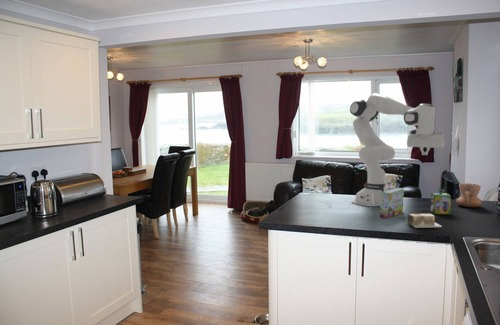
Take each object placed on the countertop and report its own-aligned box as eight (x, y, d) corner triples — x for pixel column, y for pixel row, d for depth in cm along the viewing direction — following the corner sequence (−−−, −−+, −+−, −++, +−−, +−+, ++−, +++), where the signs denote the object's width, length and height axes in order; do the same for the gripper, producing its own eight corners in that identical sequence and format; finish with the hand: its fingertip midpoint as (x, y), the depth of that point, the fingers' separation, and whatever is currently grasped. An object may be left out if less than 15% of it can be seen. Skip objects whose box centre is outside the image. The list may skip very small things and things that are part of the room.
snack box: (388, 219, 227) (389, 192, 225) (379, 217, 231) (380, 191, 229) (403, 212, 242) (404, 188, 241) (394, 211, 246) (395, 186, 245)
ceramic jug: (459, 202, 269) (460, 181, 267) (484, 205, 260) (485, 183, 258) (452, 207, 255) (453, 185, 254) (478, 210, 246) (479, 188, 244)
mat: (415, 227, 209) (415, 226, 209) (408, 223, 218) (408, 222, 218) (442, 227, 209) (442, 226, 209) (433, 222, 218) (433, 221, 218)
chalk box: (450, 214, 236) (451, 190, 234) (433, 214, 238) (435, 189, 236) (446, 211, 245) (447, 187, 243) (430, 210, 247) (431, 187, 245)
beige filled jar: (412, 216, 210) (434, 215, 210) (408, 213, 215) (430, 213, 215) (411, 225, 211) (434, 225, 211) (407, 223, 216) (429, 222, 216)
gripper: (446, 131, 231) (445, 155, 232) (409, 131, 243) (409, 153, 245) (443, 131, 226) (442, 156, 227) (406, 131, 239) (405, 154, 240)
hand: (424, 154), depth 236 cm, fingers closed
